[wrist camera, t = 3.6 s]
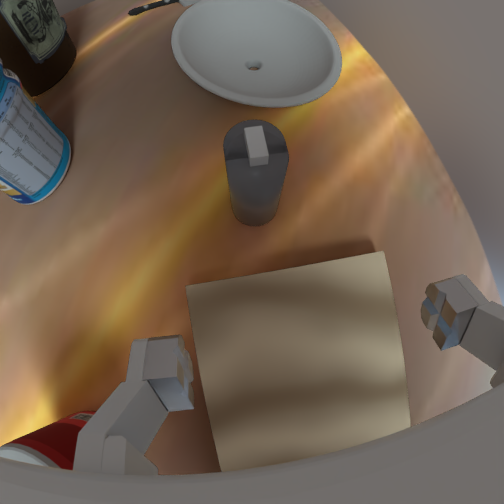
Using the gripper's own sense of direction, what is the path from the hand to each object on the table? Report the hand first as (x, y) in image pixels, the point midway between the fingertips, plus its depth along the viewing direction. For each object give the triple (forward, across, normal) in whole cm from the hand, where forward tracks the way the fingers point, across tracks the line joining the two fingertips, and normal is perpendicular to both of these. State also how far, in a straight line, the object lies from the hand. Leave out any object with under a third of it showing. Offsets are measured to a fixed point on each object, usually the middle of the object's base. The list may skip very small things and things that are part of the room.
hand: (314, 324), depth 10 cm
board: (+6, +1, -15) cm, 16 cm away
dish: (+27, +2, +6) cm, 28 cm away
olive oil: (+34, -22, +13) cm, 42 cm away
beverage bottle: (+23, -20, +2) cm, 30 cm away
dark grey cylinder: (+17, 0, -4) cm, 17 cm away
